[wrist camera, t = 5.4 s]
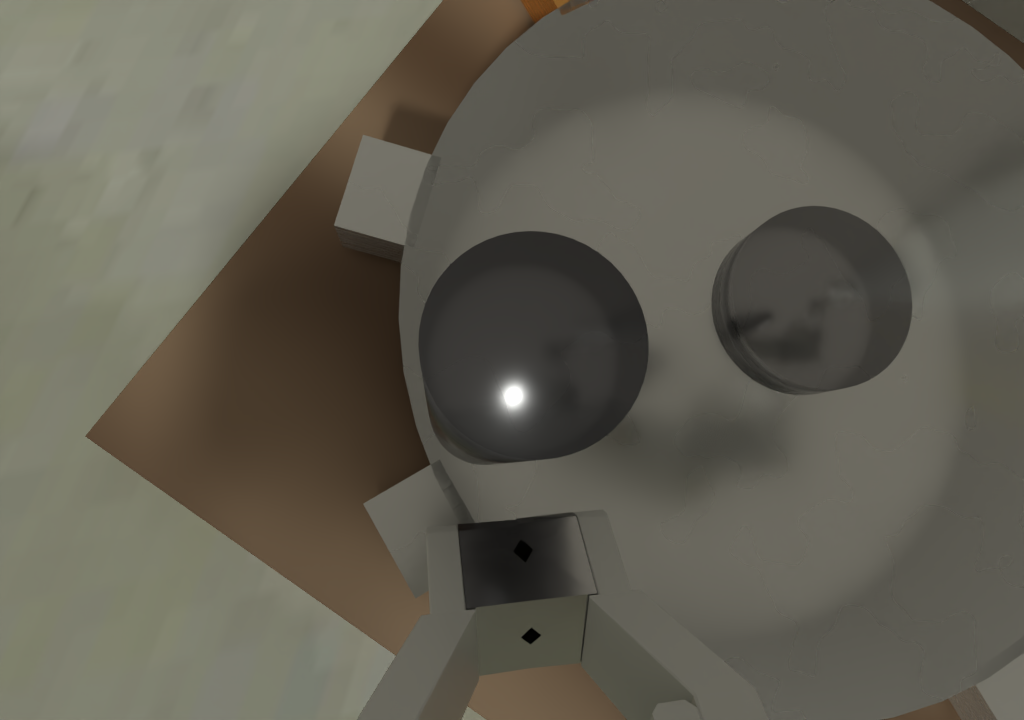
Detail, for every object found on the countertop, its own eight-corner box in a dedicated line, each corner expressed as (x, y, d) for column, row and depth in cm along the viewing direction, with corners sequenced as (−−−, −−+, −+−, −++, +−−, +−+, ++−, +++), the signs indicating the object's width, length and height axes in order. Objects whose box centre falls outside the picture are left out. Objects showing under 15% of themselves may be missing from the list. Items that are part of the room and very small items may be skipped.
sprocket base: (624, -190, 22) (657, -306, 18) (1242, 243, 22) (1384, 203, 18) (115, 439, 17) (41, 431, 14) (882, 980, 17) (984, 1097, 14)
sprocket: (648, -186, 20) (837, -777, 10) (1255, 240, 20) (2001, 32, 10) (162, 422, 16) (-229, 354, 7) (912, 950, 16) (1593, 1641, 7)
